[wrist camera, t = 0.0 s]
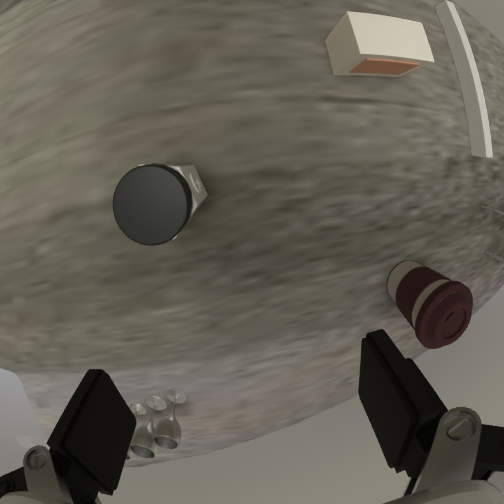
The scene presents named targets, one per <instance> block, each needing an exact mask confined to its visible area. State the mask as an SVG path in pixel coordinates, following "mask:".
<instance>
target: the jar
mask: <svg viewBox="0 0 504 504" xmlns="http://www.w3.org/2000/svg"><path fill="white" fill-rule="evenodd" d="M207 196H208V195H207V192H206V190H205V188H204V186H203V183H202V181H201V179H200V177H199V174H198V172H197V170H196V168H195V166H194V165H185V164H170V163H152V164H140V165H139V166H138V167H136V168H134V169H132V170H130V171H129V172H128V173H126V174H125V175H124V176H123V178H122V179H121V180H120V182H119V183H118V185H117V187H116V189H115V192H114V196H113V212H114V216H115V219H116V222H117V224H118V226H119V227H120V229H121V230H122V231H123V233H124V234H125V235H126V236H127V237H129V238H130V239H131V240H133V241H135V242H137V243H140V244H143V245H150V246H153V245H160V244H163V243H166V242H168V241H170V240H172V239H175V238H176V237H177V236H178V235H179V233H180V232H181V231H182V230H183V229H184V228H185V226H186V225H187V224H188V223H189V222H190V220H191V219H192V217H193V216H194V215H195V213H196V212H197V210H198V209H199V207H200V206H201V205H202V203H203V202H204V200H205V199H206V198H207Z"/></svg>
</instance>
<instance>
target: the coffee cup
mask: <svg viewBox="0 0 504 504" xmlns="http://www.w3.org/2000/svg"><path fill="white" fill-rule="evenodd" d="M387 289H388V293H389V295H390V296H391V298H392V299H393V300H394V301H395V303H396V304H397V307H398V309H399V310H400V311H401V313H402V314H403V315H404V317H405V318H406V319H407V321H408V322H409V323H410V325H411V326H412V327H413V329H414V330H415V334H416V337H417V338H418V340H419V341H420V342H421V343H422V345H423V346H425V347H426V348H429V349H436V348H440V347H443V346H445V345H449V344H451V343H453V342H454V341H456V340H457V339H458V338H459V337H460V336H461V335H462V334H463V333H464V331H465V330H466V328H467V327H468V324H469V322H470V319H471V314H472V306H473V297H472V293H471V291H470V290H469V288H468V287H467V286H465V285H464V284H462V283H461V282H458V281H451V280H450V279H449V278H447V277H445V276H443V275H441V274H439V273H438V272H436V271H434V270H432V269H430V268H428V267H424V266H422V265H420V264H418V263H416V262H414V261H404V262H402V263H400V264H399V265H397V266H396V267H395V268H394V269H393V271H392V272H391V274H390V276H389V278H388V283H387Z"/></svg>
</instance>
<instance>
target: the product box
mask: <svg viewBox="0 0 504 504" xmlns="http://www.w3.org/2000/svg"><path fill="white" fill-rule="evenodd" d="M325 44H326V47H327V51H328V55H329V58H330V62H331V66H332V70H333V74H334V76H383V77H400V76H403V75H405V74H407V73H410V72H412V71H414V70H417V69H419V68H422V67H424V66H426V65H429V64H431V63H434V59H433V56H432V52H431V49H430V46H429V43H428V40H427V37H426V34H425V31H424V29H423V26H422V23H419V22H415V21H410V20H405V19H400V18H395V17H389V16H383V15H376V14H368V13H359V12H348V11H347V12H346V13H345V15H344V16H343V17H342V18H341V20H340V21H339V22H338V24H337V25H336V26H335V27H334V29H333V30H332V31H331V33H330V34H329V35H328V37H327V38H326V39H325Z"/></svg>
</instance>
